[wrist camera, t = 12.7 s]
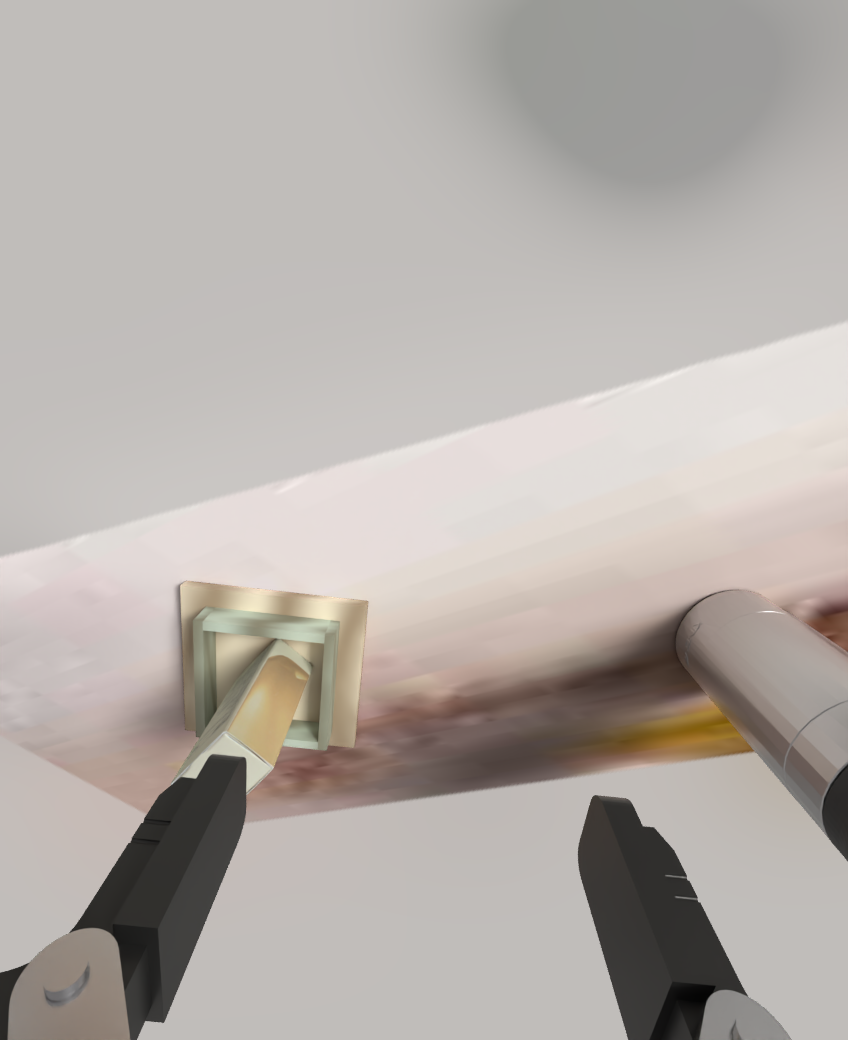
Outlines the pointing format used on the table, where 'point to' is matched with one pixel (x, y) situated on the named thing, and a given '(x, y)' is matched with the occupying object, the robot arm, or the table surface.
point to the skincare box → (254, 714)
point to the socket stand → (250, 630)
